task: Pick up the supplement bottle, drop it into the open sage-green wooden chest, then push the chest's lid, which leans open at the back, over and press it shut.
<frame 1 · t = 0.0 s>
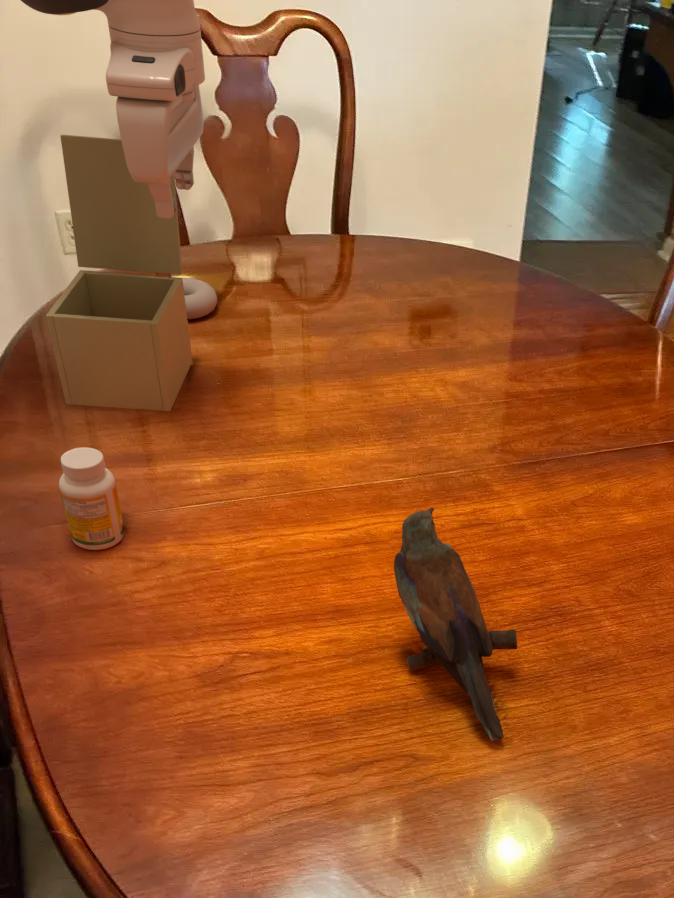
hand: (176, 201, 107), 25 cm above the table, tool pointing down, fingers open, 8 cm apart
chest: (133, 392, 124), on the table
supplement bottle: (99, 537, 101), on the table
donut: (184, 310, 143), on the table
bird figurine: (457, 666, 91), on the table
lid: (123, 207, 116), point 20 cm above the table, hinge at 100.0°
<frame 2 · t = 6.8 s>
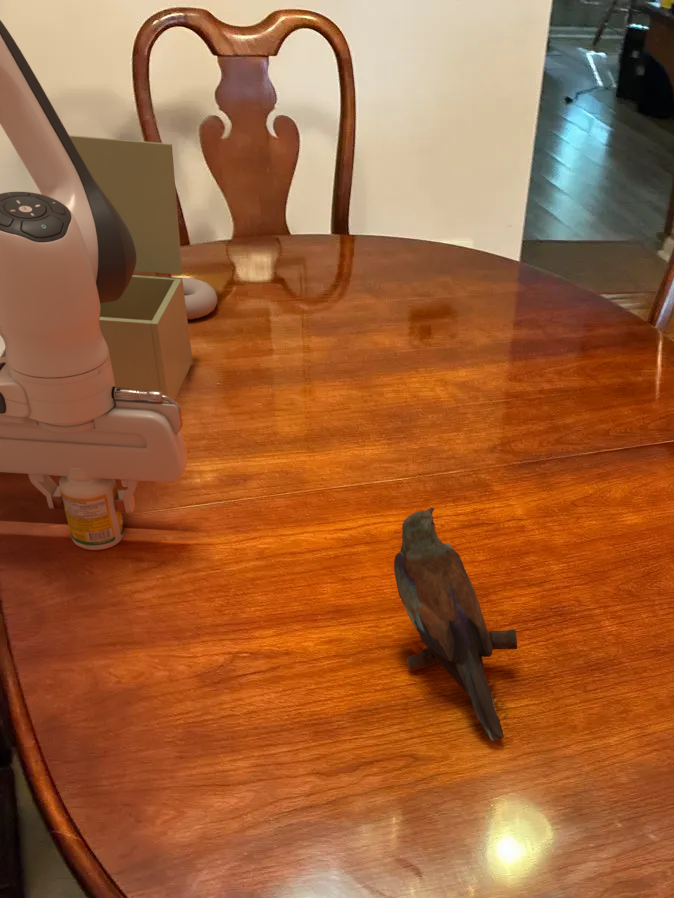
hand: (92, 507, 98), 4 cm above the table, tool pointing down, fingers closed on supplement bottle, 5 cm apart
supplement bottle: (99, 537, 101), on the table, touching gripper
everything else where it was.
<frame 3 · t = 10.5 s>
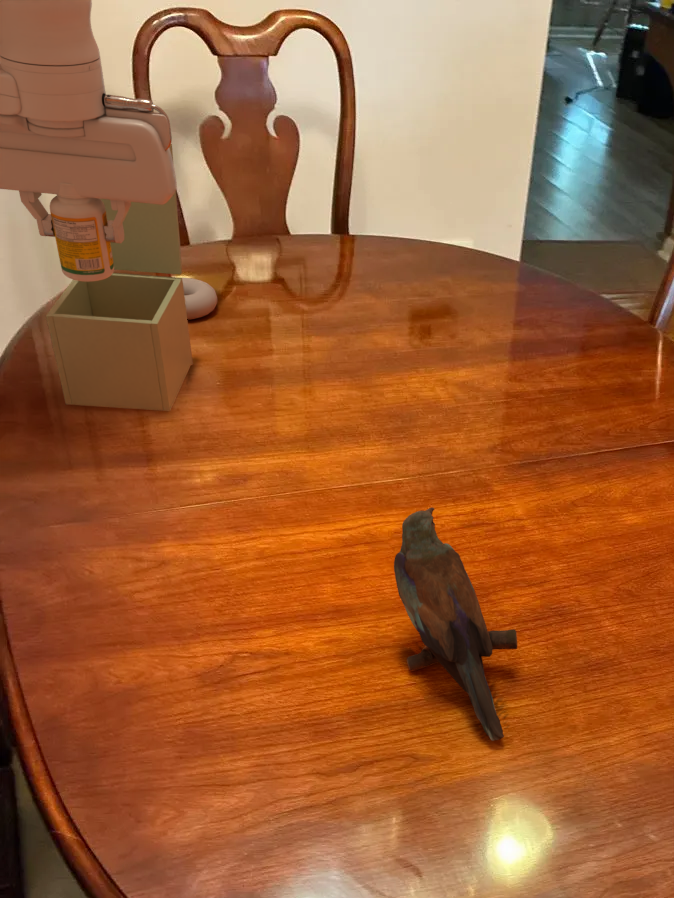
hand: (82, 237, 100), 24 cm above the table, tool pointing down, fingers closed on supplement bottle, 5 cm apart
supplement bottle: (89, 274, 102), point 20 cm above the table, touching gripper
everything else where it was.
when the fingers open (14 cm above the table, at t = 14.3 s): supplement bottle drops 9 cm, resting on chest.
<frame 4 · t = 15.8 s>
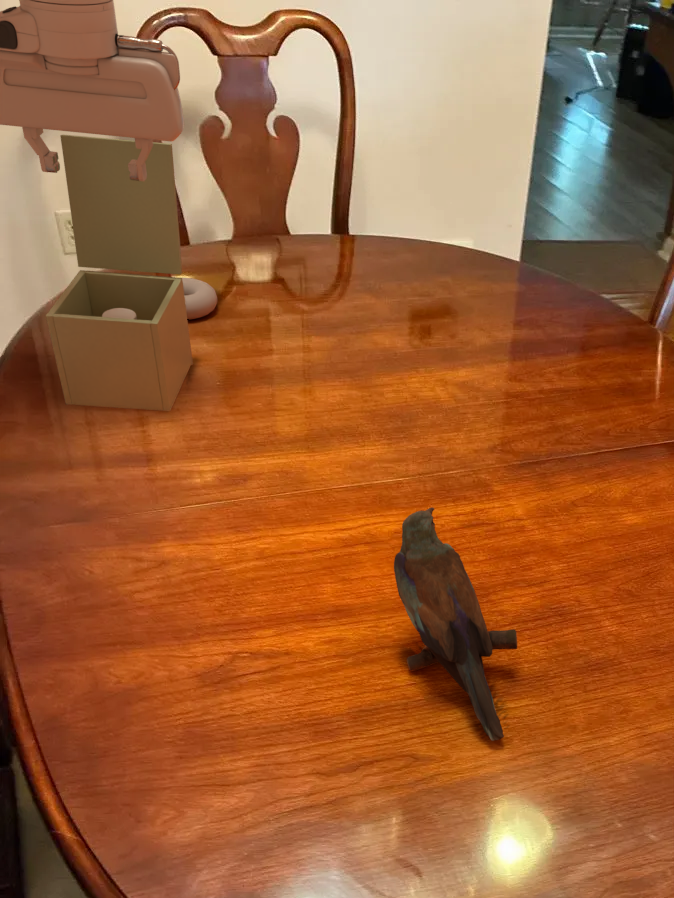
hand: (95, 175, 106), 26 cm above the table, tool pointing down, fingers open, 8 cm apart
supplement bottle: (132, 387, 123), point 1 cm above the table, touching chest
everything else where it was.
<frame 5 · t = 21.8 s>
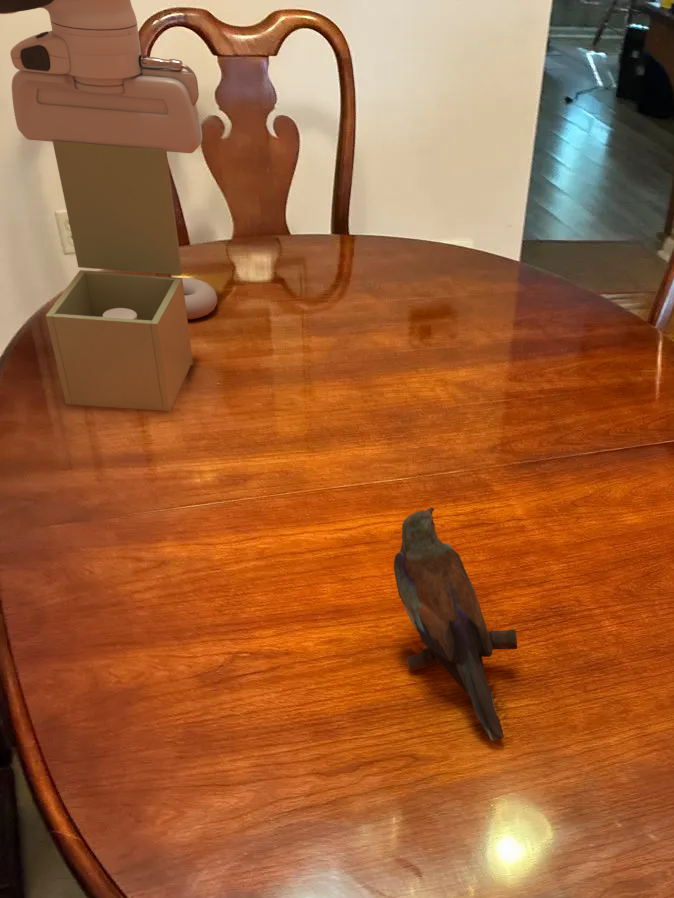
hand: (120, 185, 114), 23 cm above the table, tool pointing down, fingers closed, pressing on lid
lid: (120, 210, 115), point 21 cm above the table, hinge at 88.8°, touching gripper
everything else where it was.
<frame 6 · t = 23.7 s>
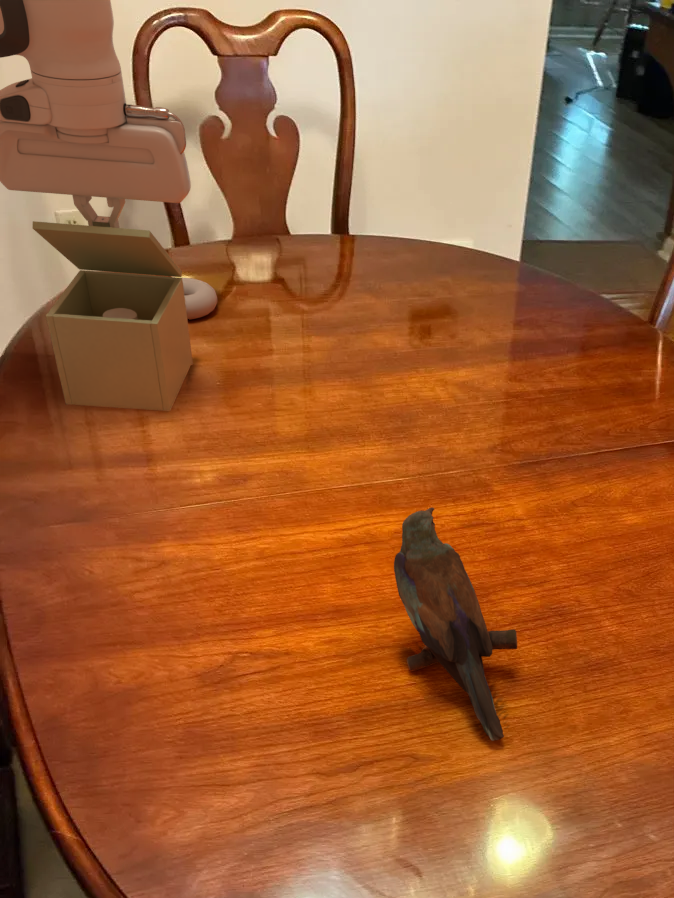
hand: (105, 235, 110), 20 cm above the table, tool pointing down, fingers closed, pressing on lid
lid: (112, 251, 112), point 18 cm above the table, hinge at 37.8°, touching gripper
everything else where it was.
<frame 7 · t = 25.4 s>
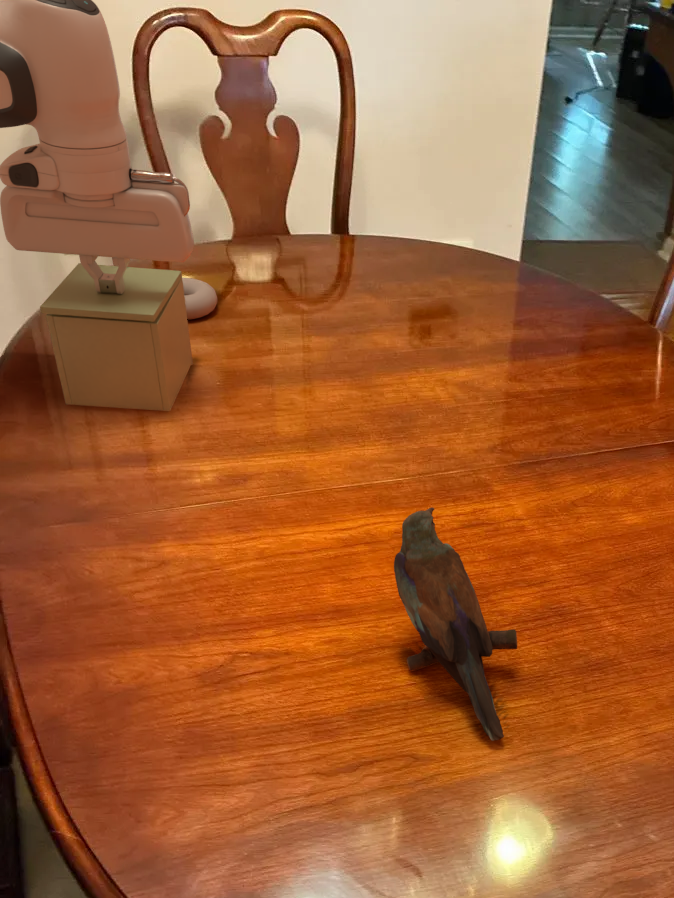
hand: (111, 291, 113), 14 cm above the table, tool pointing down, fingers closed, pressing on lid
lid: (114, 291, 114), point 14 cm above the table, hinge at 2.4°, touching gripper
everything else where it was.
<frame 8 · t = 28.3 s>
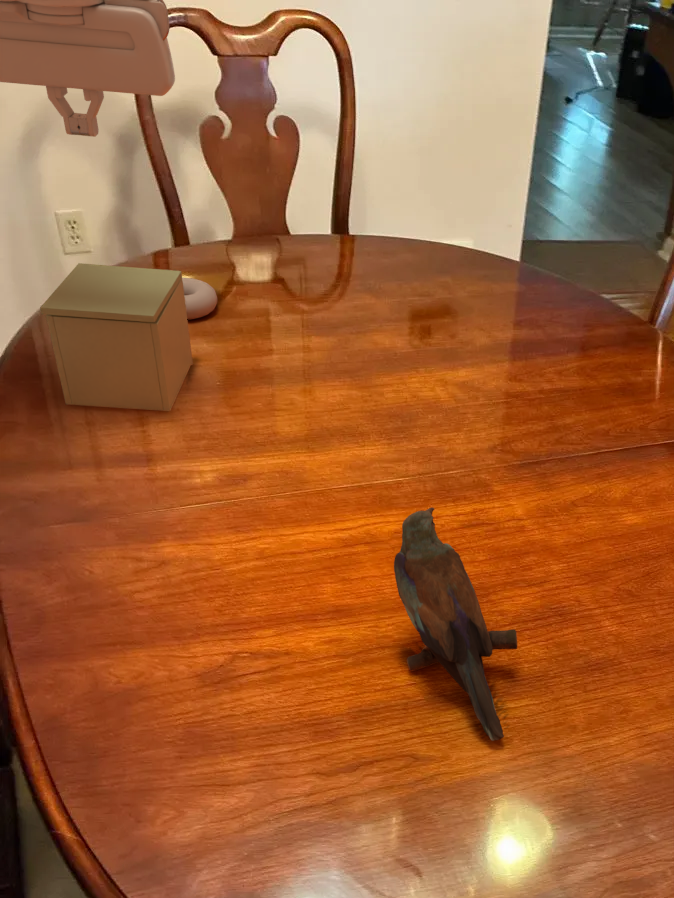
hand: (82, 134, 101), 31 cm above the table, tool pointing down, fingers closed
lid: (114, 291, 114), point 14 cm above the table, hinge at 2.1°
everything else where it was.
at the end: supplement bottle inside the target area in the chest (0.1 cm from its centre), point 0.6 cm above the chest's base; lid at +2° (first picture: +100°) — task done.
